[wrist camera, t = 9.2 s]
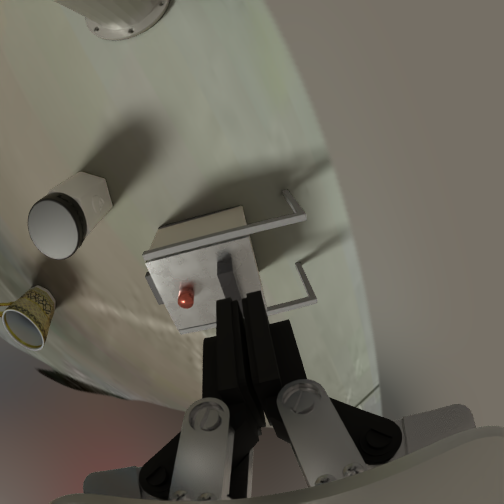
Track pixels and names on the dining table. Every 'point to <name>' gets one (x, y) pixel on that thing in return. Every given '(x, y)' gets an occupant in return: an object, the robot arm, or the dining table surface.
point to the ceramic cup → (30, 317)
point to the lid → (205, 279)
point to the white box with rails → (221, 229)
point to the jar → (68, 214)
